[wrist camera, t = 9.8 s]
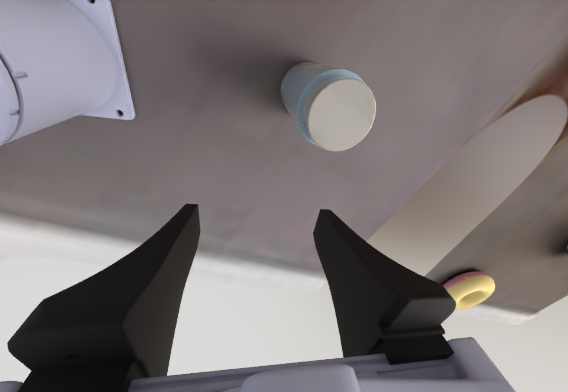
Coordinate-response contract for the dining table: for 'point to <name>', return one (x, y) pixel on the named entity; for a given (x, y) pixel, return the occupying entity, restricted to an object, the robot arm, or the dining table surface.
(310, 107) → the shaker
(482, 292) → the donut
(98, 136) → the dining table surface
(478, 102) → the dining table surface
